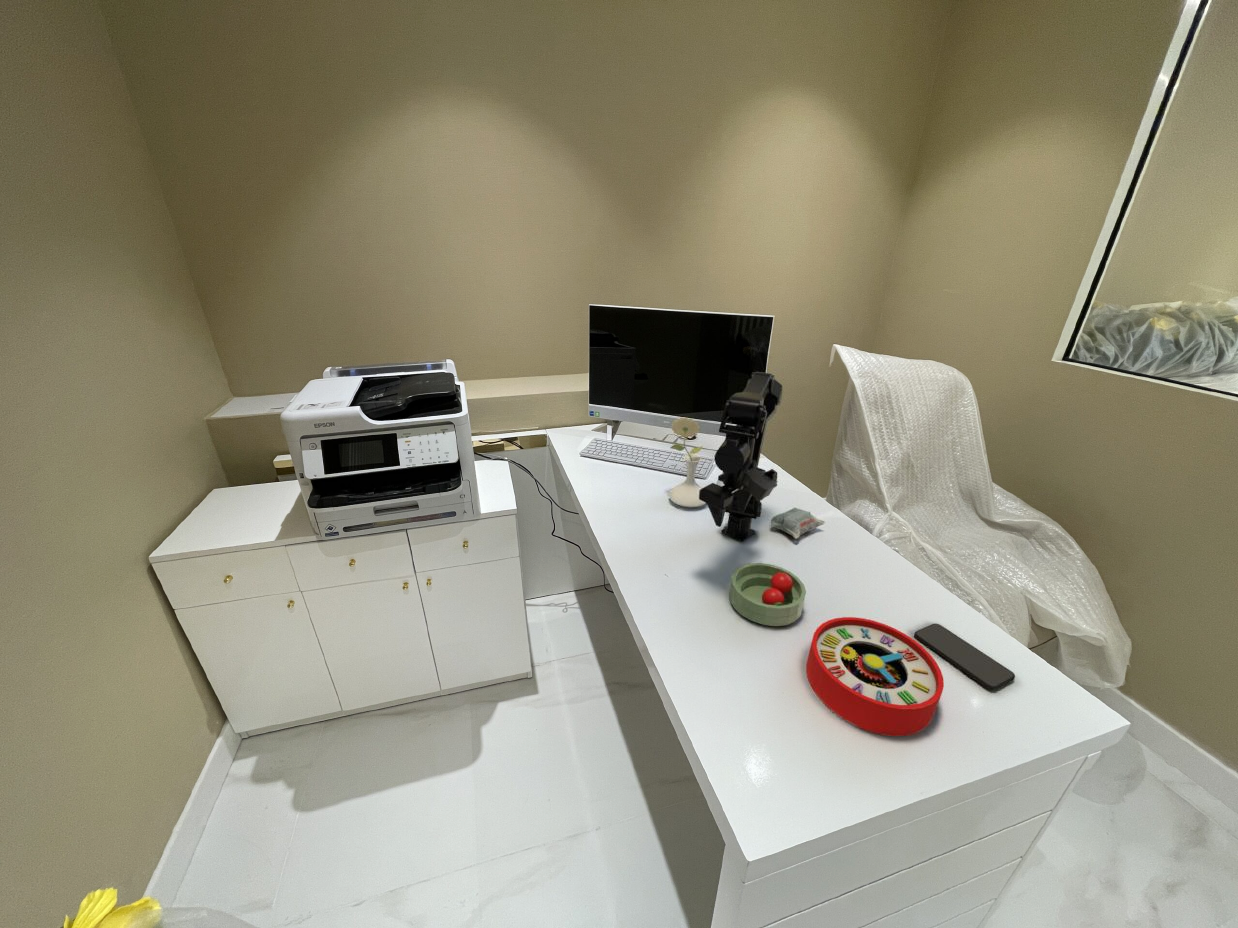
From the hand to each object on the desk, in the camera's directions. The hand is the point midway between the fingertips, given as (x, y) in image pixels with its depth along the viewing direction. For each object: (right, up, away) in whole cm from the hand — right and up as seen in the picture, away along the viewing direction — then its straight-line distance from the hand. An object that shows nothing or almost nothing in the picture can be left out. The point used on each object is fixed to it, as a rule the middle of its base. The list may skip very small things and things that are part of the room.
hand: (730, 518), depth 113 cm
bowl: (+6, -17, -8) cm, 19 cm away
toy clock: (+18, -26, -26) cm, 41 cm away
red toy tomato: (+7, -13, -10) cm, 18 cm away
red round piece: (+6, -14, -9) cm, 18 cm away
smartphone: (+38, -23, -20) cm, 49 cm away
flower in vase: (-6, +2, +33) cm, 33 cm away
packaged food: (+21, -5, +19) cm, 29 cm away
